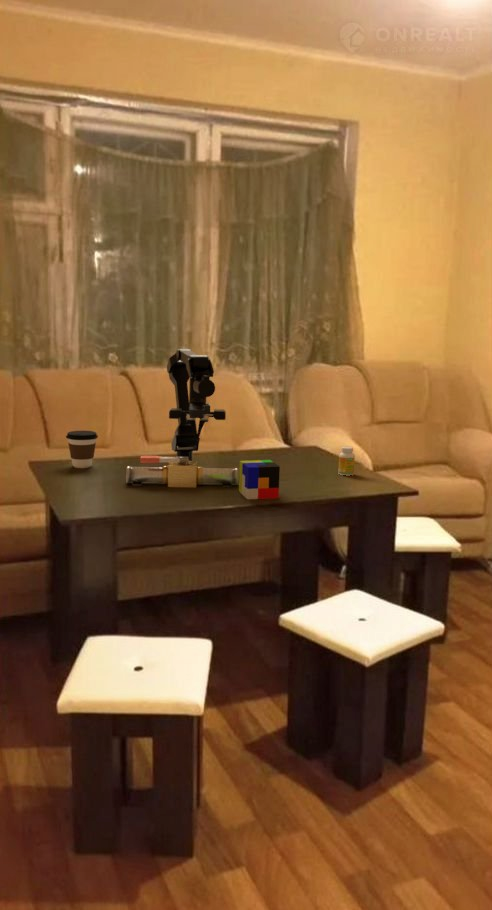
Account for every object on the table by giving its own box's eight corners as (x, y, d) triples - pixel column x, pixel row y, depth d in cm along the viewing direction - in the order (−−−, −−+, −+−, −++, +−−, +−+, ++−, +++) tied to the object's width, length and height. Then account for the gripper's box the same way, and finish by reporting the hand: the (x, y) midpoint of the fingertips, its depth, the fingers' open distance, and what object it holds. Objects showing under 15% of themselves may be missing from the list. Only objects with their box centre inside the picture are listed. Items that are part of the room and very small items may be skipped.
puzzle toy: (247, 499, 242) (248, 467, 240) (238, 491, 251) (239, 460, 249) (278, 498, 245) (279, 466, 243) (269, 490, 254) (270, 459, 252)
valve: (127, 480, 261) (127, 458, 260) (237, 482, 263) (237, 460, 262) (125, 486, 253) (125, 464, 252) (238, 488, 255) (238, 466, 254)
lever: (188, 461, 259) (188, 456, 258) (188, 463, 255) (188, 458, 255) (141, 460, 258) (141, 455, 257) (140, 462, 254) (140, 457, 254)
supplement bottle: (346, 476, 276) (347, 449, 274) (335, 473, 280) (336, 446, 279) (356, 475, 280) (358, 447, 278) (345, 472, 284) (347, 445, 282)
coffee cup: (91, 470, 275) (91, 436, 272) (61, 468, 276) (61, 434, 274) (102, 464, 285) (102, 431, 283) (73, 462, 287) (72, 429, 285)
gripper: (168, 395, 255) (167, 443, 258) (226, 397, 256) (225, 444, 259) (170, 391, 266) (169, 437, 269) (225, 392, 267) (224, 438, 270)
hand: (197, 439), depth 267 cm, fingers closed
